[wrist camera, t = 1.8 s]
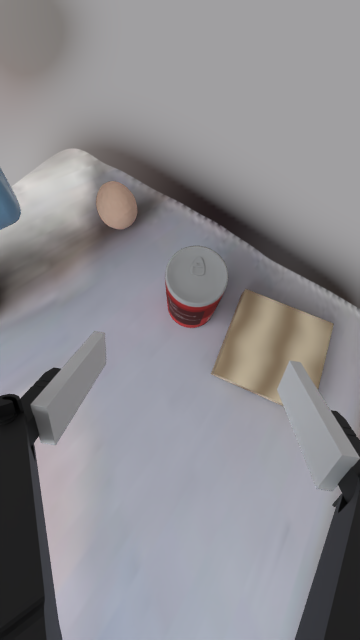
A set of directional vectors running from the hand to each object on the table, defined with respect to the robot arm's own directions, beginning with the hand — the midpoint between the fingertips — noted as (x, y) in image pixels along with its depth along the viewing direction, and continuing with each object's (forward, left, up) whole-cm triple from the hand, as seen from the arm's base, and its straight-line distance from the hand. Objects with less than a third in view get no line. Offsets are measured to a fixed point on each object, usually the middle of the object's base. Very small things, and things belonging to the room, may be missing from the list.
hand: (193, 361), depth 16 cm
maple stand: (+11, +9, -18) cm, 23 cm away
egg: (-21, +21, -19) cm, 35 cm away
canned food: (-3, +11, -19) cm, 22 cm away
